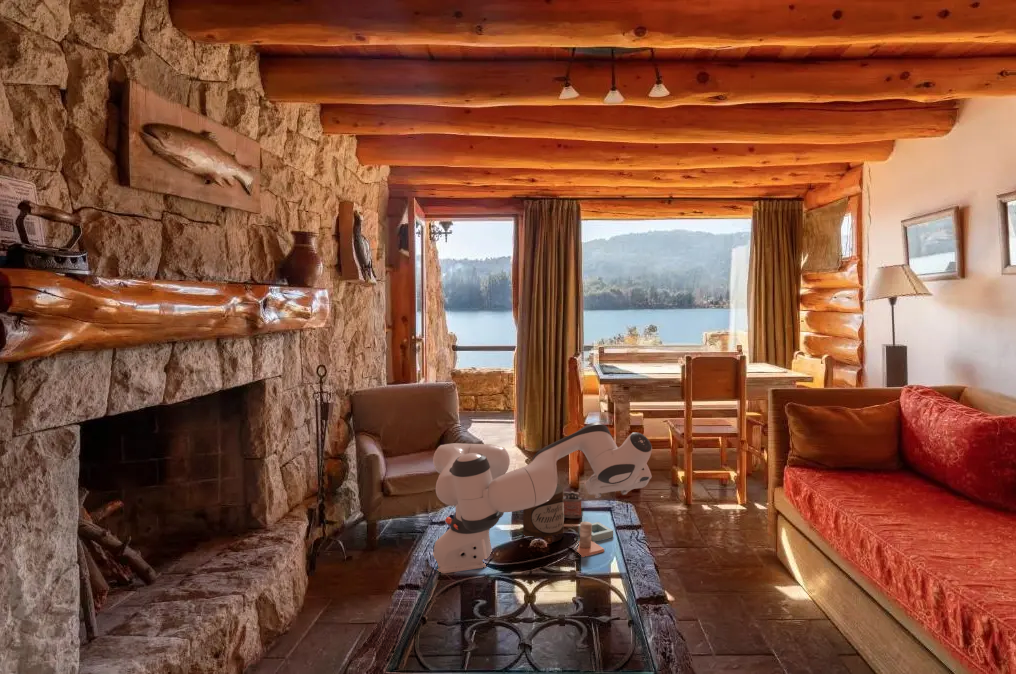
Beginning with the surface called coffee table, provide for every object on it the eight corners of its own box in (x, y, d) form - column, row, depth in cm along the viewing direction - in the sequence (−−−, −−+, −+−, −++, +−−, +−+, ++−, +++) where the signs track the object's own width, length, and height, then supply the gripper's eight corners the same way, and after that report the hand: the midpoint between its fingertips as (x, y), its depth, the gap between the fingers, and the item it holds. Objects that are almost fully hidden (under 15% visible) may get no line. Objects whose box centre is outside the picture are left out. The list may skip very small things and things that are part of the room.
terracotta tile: (582, 557, 206) (582, 554, 206) (568, 547, 214) (568, 544, 213) (604, 551, 210) (604, 548, 210) (589, 541, 218) (589, 539, 218)
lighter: (581, 515, 242) (581, 490, 241) (581, 518, 239) (581, 493, 238) (561, 514, 243) (561, 490, 242) (561, 517, 240) (561, 493, 239)
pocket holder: (592, 542, 217) (593, 535, 217) (578, 533, 225) (578, 526, 225) (613, 537, 222) (613, 530, 221) (598, 528, 229) (598, 521, 229)
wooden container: (537, 548, 213) (537, 487, 211) (515, 533, 226) (515, 475, 223) (571, 538, 220) (572, 479, 218) (548, 524, 233) (548, 468, 231)
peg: (583, 549, 209) (584, 526, 208) (577, 544, 213) (578, 522, 212) (593, 547, 211) (594, 525, 210) (586, 542, 215) (587, 520, 214)
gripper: (596, 483, 181) (583, 507, 191) (656, 476, 187) (641, 499, 197) (589, 465, 185) (577, 489, 195) (648, 459, 191) (634, 482, 201)
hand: (609, 494), depth 196 cm, fingers open, 8 cm apart
